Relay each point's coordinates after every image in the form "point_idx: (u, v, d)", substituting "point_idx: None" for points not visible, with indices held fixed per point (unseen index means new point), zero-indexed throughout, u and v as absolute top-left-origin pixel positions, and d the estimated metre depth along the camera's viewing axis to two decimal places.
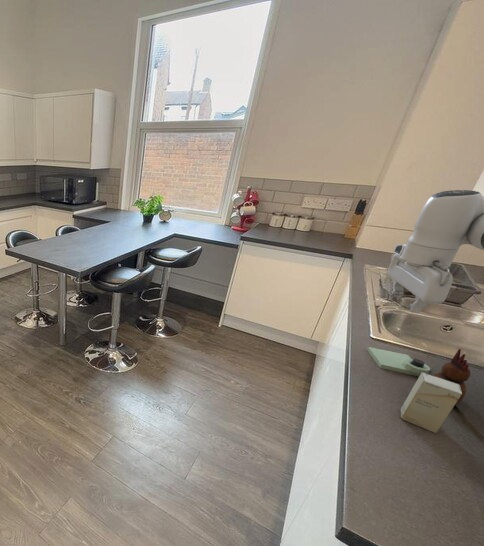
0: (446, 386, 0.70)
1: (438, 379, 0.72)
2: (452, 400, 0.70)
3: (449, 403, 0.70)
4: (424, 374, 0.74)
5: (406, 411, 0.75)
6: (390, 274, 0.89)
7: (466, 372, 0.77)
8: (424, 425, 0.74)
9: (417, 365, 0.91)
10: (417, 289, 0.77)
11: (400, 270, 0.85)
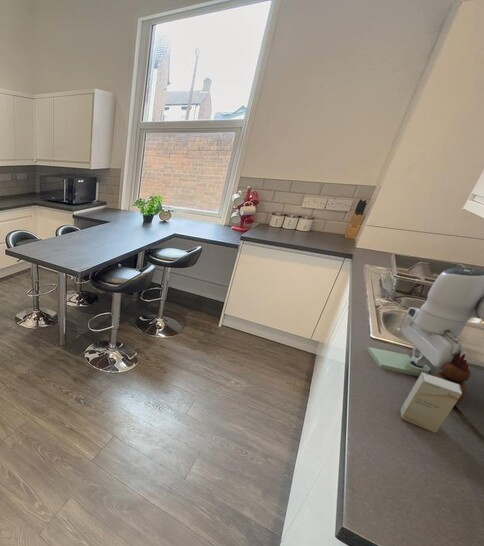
0: (446, 386, 0.70)
1: (438, 379, 0.72)
2: (452, 400, 0.70)
3: (449, 403, 0.70)
4: (424, 374, 0.74)
5: (406, 411, 0.75)
6: (403, 332, 0.97)
7: (466, 372, 0.77)
8: (424, 425, 0.74)
9: None
10: (429, 354, 0.85)
11: (413, 331, 0.93)
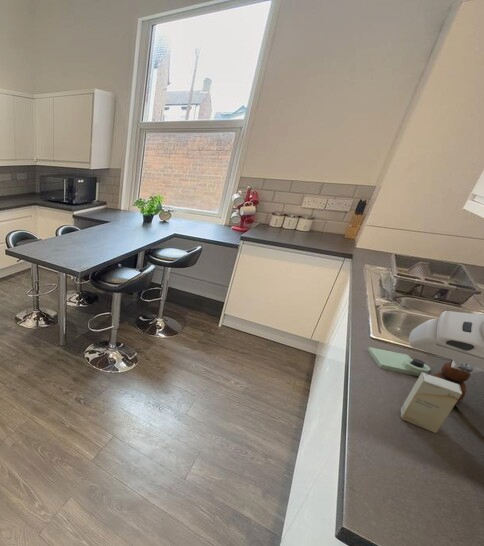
0: (446, 386, 0.70)
1: (438, 379, 0.72)
2: (452, 400, 0.70)
3: (449, 403, 0.70)
4: (424, 374, 0.74)
5: (406, 411, 0.75)
6: (422, 349, 0.65)
7: (466, 372, 0.77)
8: (424, 425, 0.74)
9: (417, 365, 0.91)
10: None
11: (454, 352, 0.61)
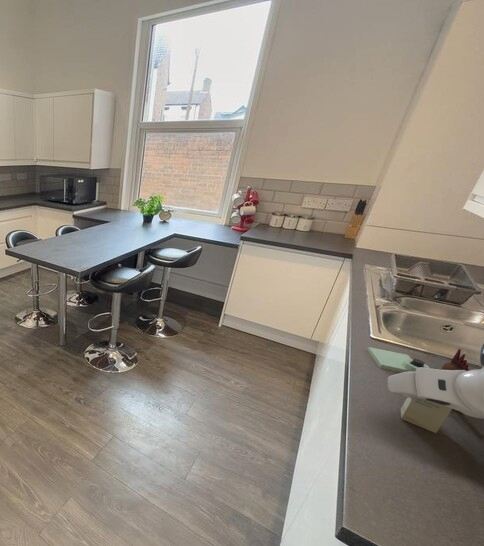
0: None
1: None
2: None
3: None
4: None
5: (406, 411, 0.75)
6: (400, 394, 0.72)
7: None
8: (424, 425, 0.74)
9: (417, 365, 0.91)
10: None
11: None
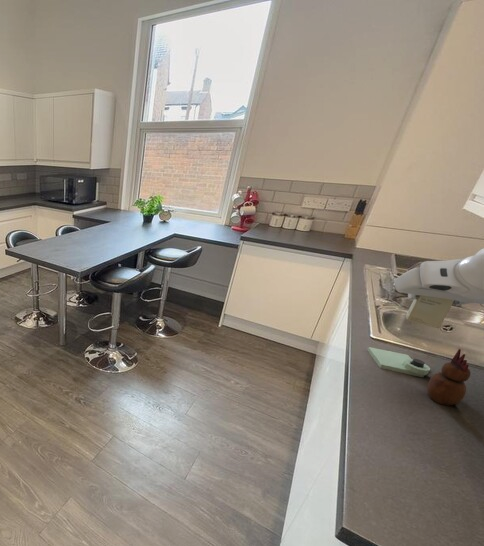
0: None
1: None
2: None
3: None
4: None
5: (411, 312, 0.84)
6: (406, 292, 0.80)
7: (466, 372, 0.77)
8: (428, 322, 0.82)
9: (417, 365, 0.91)
10: None
11: (432, 291, 0.77)
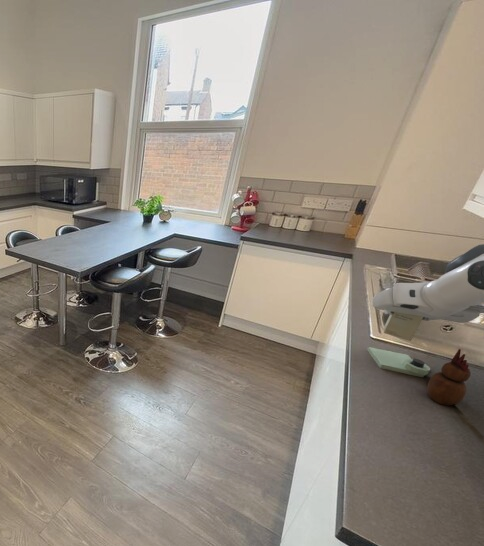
0: None
1: None
2: None
3: None
4: None
5: (387, 326, 0.95)
6: (382, 309, 0.91)
7: (466, 372, 0.77)
8: (401, 335, 0.93)
9: (417, 365, 0.91)
10: (448, 319, 0.85)
11: (403, 309, 0.88)
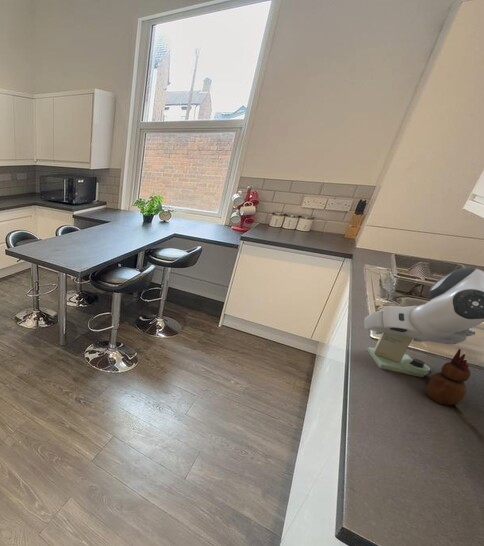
0: None
1: None
2: None
3: (408, 337, 0.92)
4: None
5: (377, 347, 0.98)
6: (373, 330, 0.94)
7: (466, 372, 0.77)
8: (391, 357, 0.96)
9: (417, 365, 0.91)
10: (436, 340, 0.88)
11: (393, 331, 0.90)
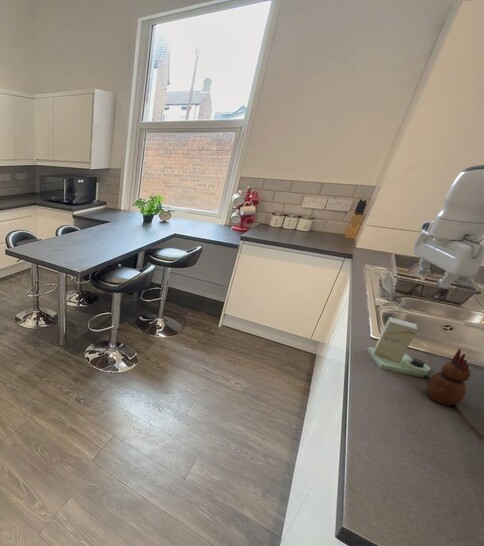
0: (406, 324, 0.93)
1: (401, 321, 0.95)
2: (410, 335, 0.92)
3: (408, 337, 0.92)
4: (391, 318, 0.96)
5: (377, 347, 0.98)
6: (416, 252, 0.90)
7: (466, 372, 0.77)
8: (391, 357, 0.96)
9: (417, 365, 0.91)
10: (447, 264, 0.78)
11: (427, 247, 0.86)
